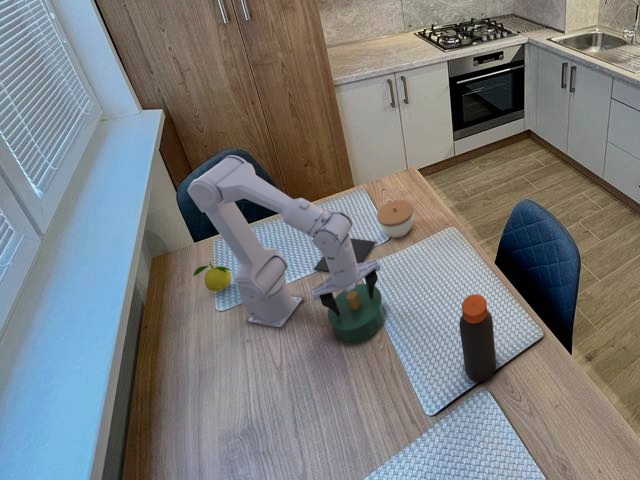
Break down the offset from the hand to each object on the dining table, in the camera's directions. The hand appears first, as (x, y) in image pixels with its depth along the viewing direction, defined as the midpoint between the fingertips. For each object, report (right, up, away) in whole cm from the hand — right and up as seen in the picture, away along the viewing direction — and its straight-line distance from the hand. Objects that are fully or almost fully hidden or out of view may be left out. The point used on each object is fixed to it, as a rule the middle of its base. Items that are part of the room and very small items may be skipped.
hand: (354, 303), depth 96 cm
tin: (0, -6, +3) cm, 6 cm away
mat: (-11, +3, +22) cm, 24 cm away
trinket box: (+2, +7, +30) cm, 31 cm away
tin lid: (0, -1, +1) cm, 1 cm away
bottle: (+31, -10, -8) cm, 33 cm away
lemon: (-41, -3, +13) cm, 43 cm away
